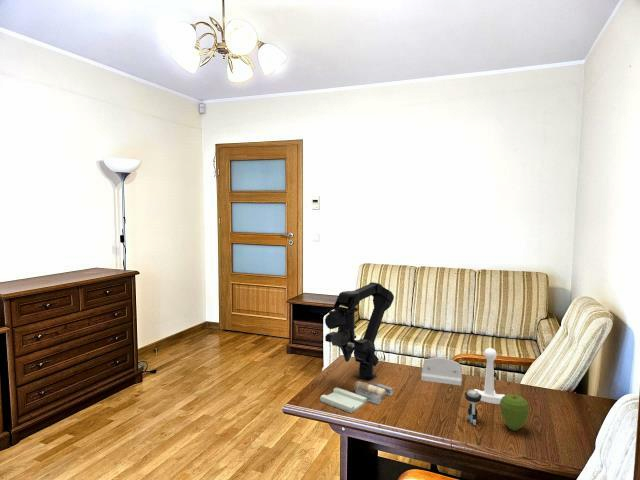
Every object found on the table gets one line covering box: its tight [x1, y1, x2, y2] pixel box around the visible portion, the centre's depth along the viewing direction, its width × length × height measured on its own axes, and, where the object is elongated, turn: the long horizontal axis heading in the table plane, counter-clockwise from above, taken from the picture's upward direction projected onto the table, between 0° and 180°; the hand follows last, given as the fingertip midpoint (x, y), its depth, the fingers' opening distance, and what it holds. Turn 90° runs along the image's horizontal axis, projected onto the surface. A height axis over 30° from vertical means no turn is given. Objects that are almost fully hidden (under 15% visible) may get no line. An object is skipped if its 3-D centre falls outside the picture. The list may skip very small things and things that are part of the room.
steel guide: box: [355, 380, 394, 406], centre depth 159 cm, size 11×10×2 cm
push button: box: [464, 389, 482, 426], centre depth 140 cm, size 7×5×10 cm
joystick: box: [473, 347, 506, 405], centre depth 156 cm, size 11×8×20 cm
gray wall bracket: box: [420, 357, 463, 387], centre depth 174 cm, size 17×5×10 cm, turn 70°
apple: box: [499, 393, 530, 432], centre depth 135 cm, size 9×8×12 cm
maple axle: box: [353, 380, 387, 401], centre depth 160 cm, size 12×4×4 cm, turn 51°
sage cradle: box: [319, 387, 368, 414], centre depth 153 cm, size 10×14×2 cm
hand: (347, 361), depth 166 cm, fingers closed
